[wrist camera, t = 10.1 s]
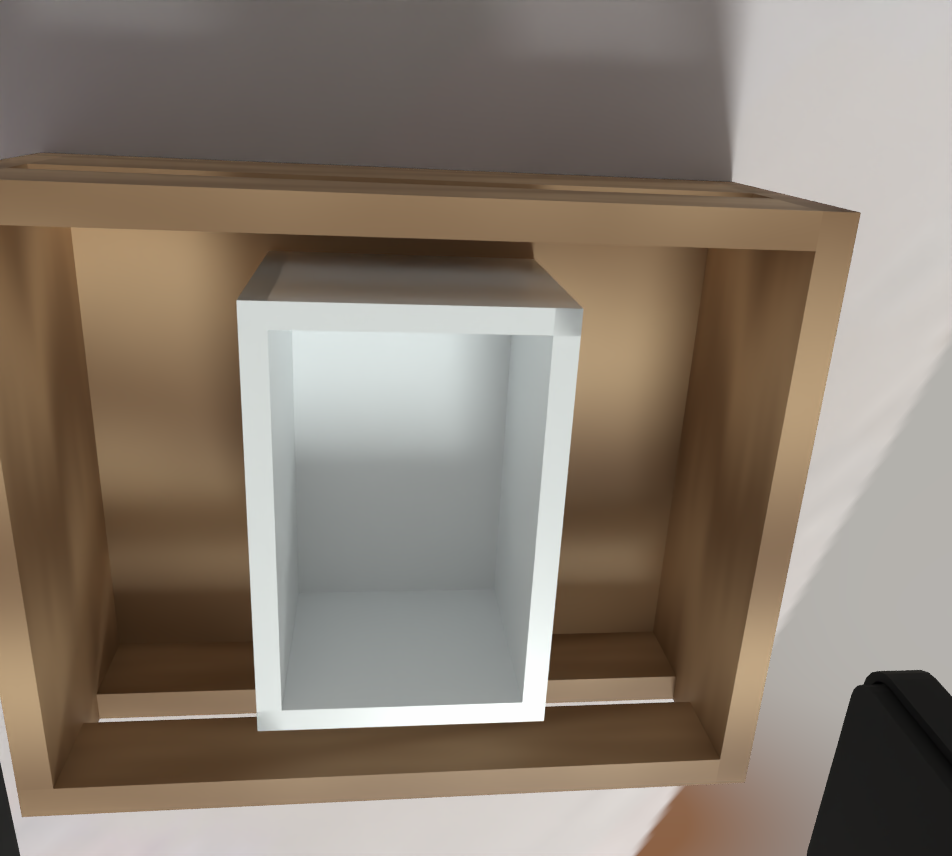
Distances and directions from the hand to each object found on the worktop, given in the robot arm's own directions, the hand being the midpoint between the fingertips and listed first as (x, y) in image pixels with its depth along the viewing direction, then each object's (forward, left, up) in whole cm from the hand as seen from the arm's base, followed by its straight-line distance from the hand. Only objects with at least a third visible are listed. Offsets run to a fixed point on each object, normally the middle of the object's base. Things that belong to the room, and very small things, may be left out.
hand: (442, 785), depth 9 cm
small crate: (+1, 0, -12) cm, 12 cm away
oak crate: (+1, 0, -13) cm, 13 cm away
